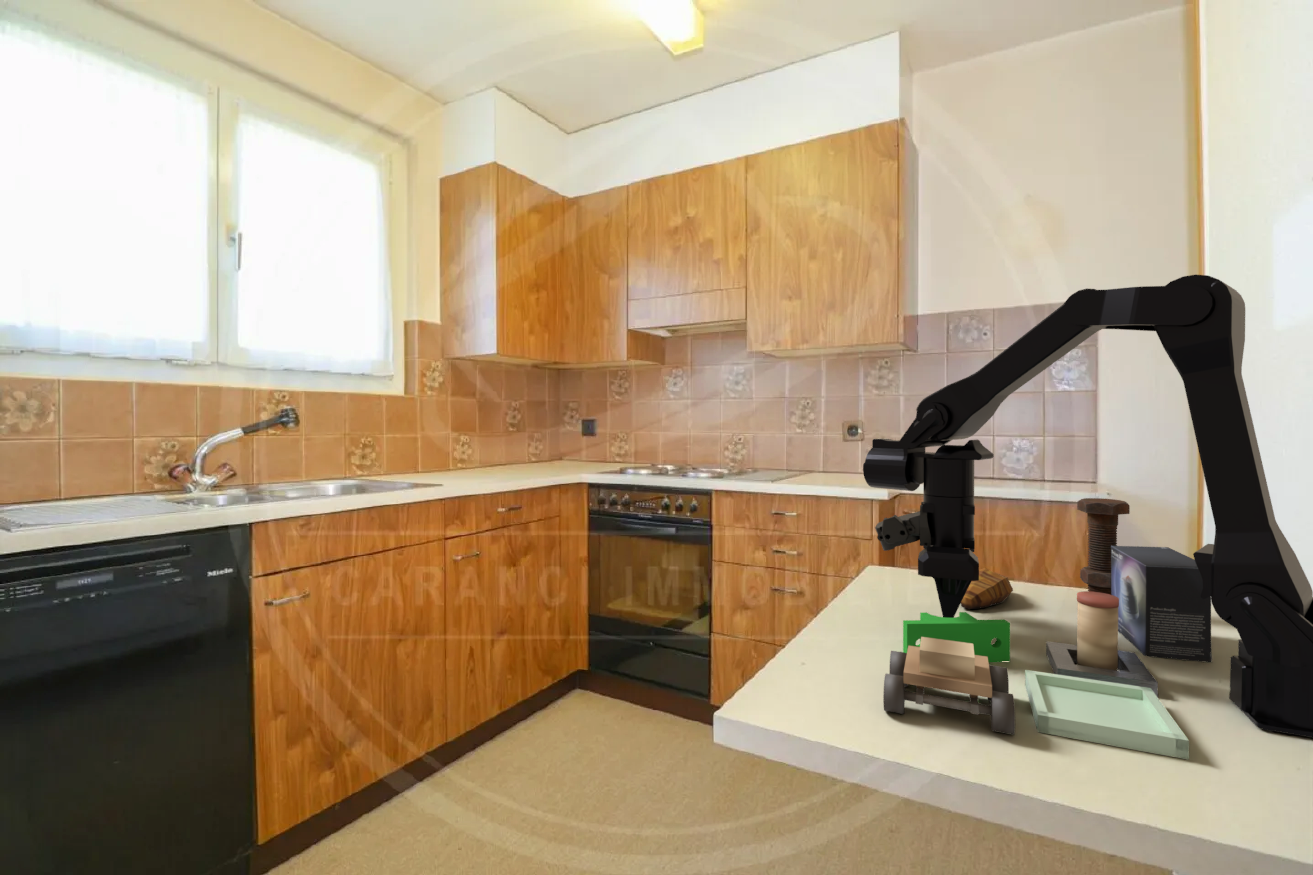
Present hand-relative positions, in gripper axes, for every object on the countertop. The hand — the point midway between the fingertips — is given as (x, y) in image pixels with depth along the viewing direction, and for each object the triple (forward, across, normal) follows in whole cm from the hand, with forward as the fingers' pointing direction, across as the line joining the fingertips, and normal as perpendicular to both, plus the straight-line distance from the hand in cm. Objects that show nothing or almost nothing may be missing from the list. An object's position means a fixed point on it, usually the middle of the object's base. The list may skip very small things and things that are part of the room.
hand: (948, 618), depth 76 cm
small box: (+2, -5, +22) cm, 23 cm away
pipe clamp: (+2, +9, 0) cm, 9 cm away
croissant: (+2, -15, +5) cm, 16 cm away
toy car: (+1, +22, 0) cm, 22 cm away
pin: (+1, +8, +14) cm, 16 cm away
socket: (+1, +8, +14) cm, 16 cm away
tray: (+1, +19, +12) cm, 23 cm away
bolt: (+2, -17, +19) cm, 25 cm away
